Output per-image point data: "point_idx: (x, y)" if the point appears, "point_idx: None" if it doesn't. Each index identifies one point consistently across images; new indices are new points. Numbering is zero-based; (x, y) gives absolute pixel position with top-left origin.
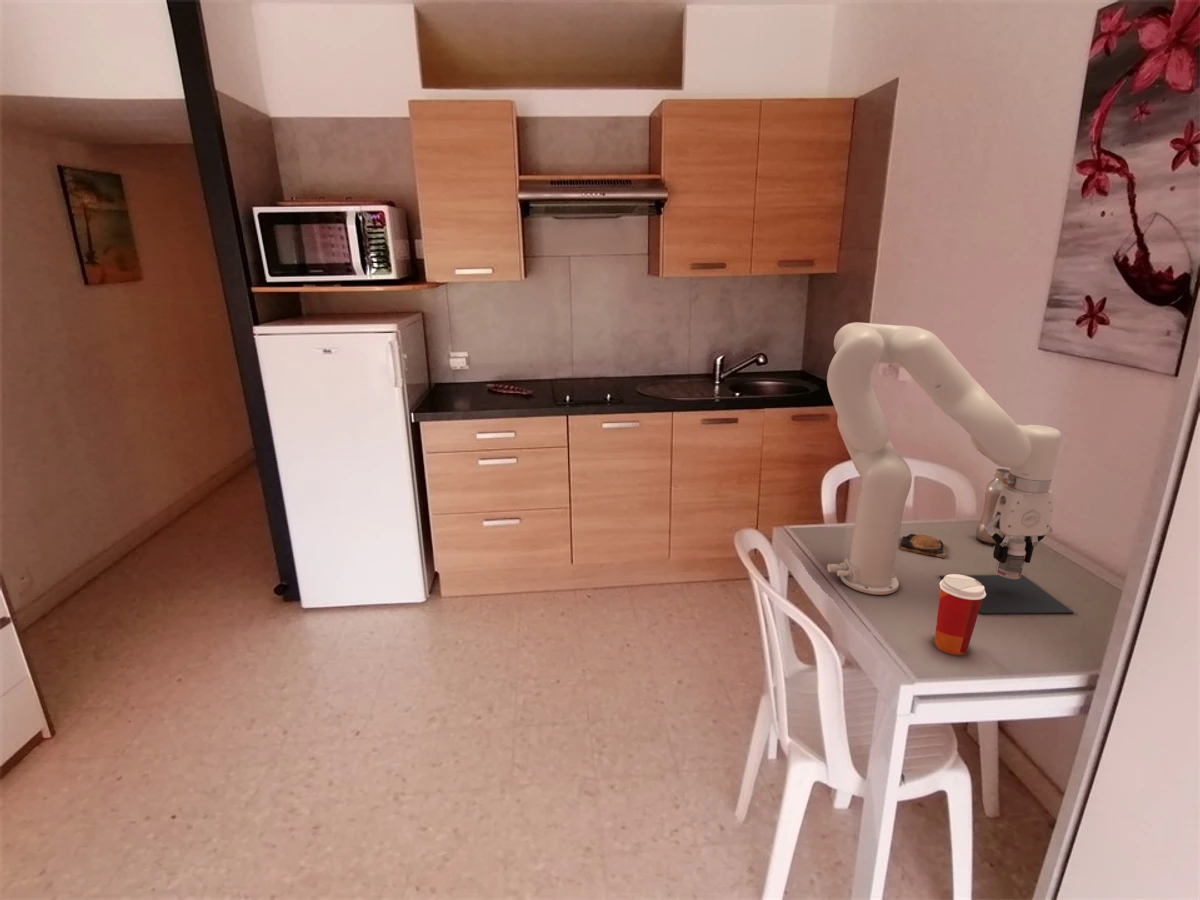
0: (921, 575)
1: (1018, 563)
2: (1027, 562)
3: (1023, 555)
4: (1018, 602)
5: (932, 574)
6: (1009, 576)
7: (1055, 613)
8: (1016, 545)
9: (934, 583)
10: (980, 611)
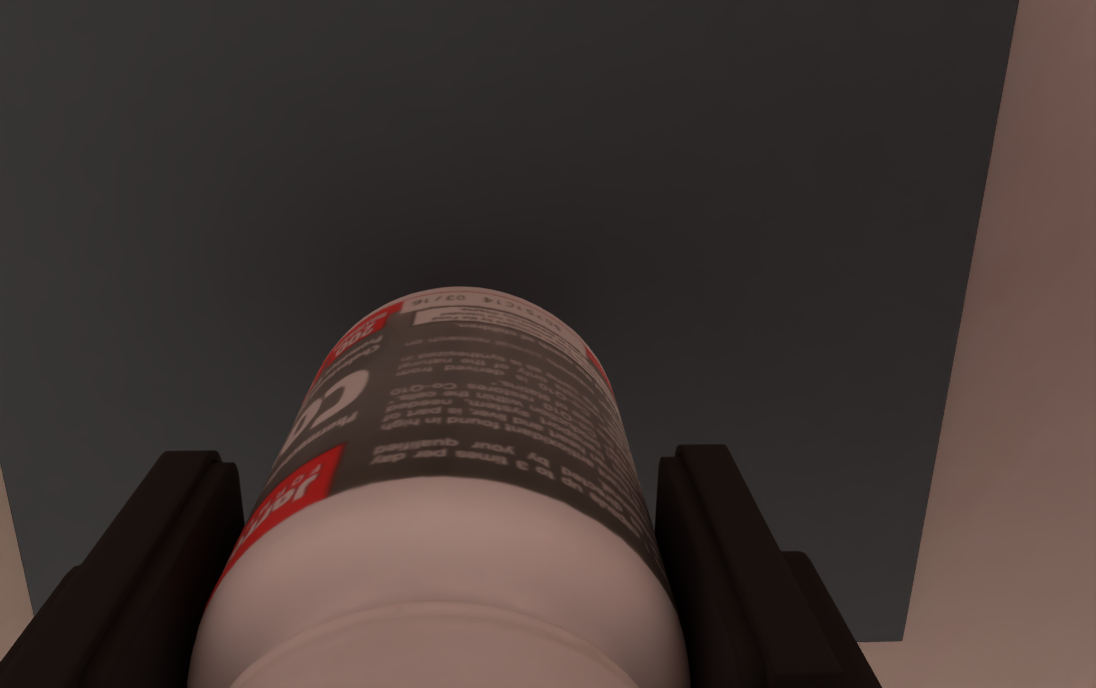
0: (1045, 654)
1: (448, 393)
2: (216, 450)
3: (344, 495)
4: (433, 124)
5: (927, 672)
6: (542, 314)
7: None
8: None
9: (1033, 523)
10: None
